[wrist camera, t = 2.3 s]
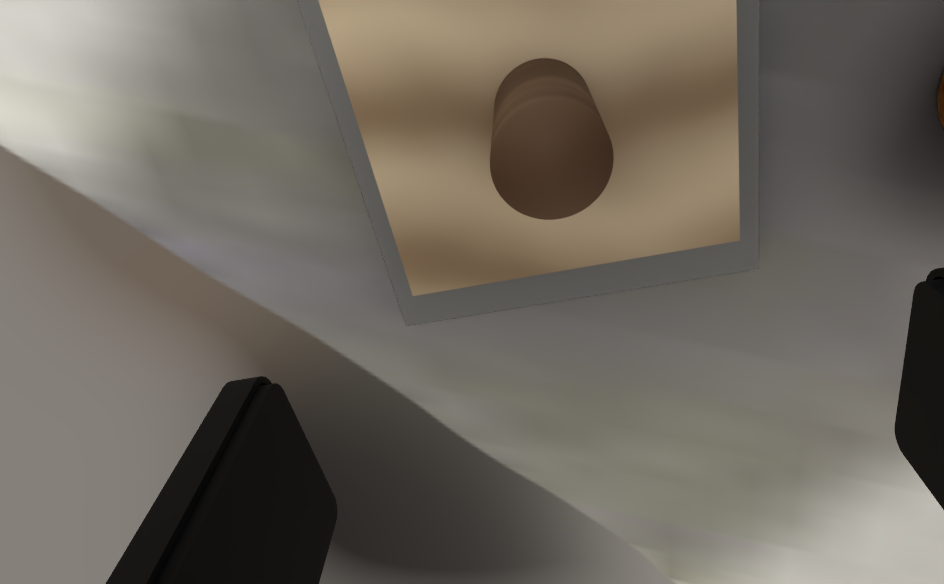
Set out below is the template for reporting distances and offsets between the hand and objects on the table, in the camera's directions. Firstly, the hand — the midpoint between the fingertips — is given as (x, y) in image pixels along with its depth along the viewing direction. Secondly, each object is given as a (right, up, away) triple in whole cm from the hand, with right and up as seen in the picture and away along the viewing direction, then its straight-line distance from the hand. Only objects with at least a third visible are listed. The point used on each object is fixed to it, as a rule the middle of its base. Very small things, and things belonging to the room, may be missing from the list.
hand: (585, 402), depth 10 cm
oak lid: (+1, +9, +15) cm, 17 cm away
